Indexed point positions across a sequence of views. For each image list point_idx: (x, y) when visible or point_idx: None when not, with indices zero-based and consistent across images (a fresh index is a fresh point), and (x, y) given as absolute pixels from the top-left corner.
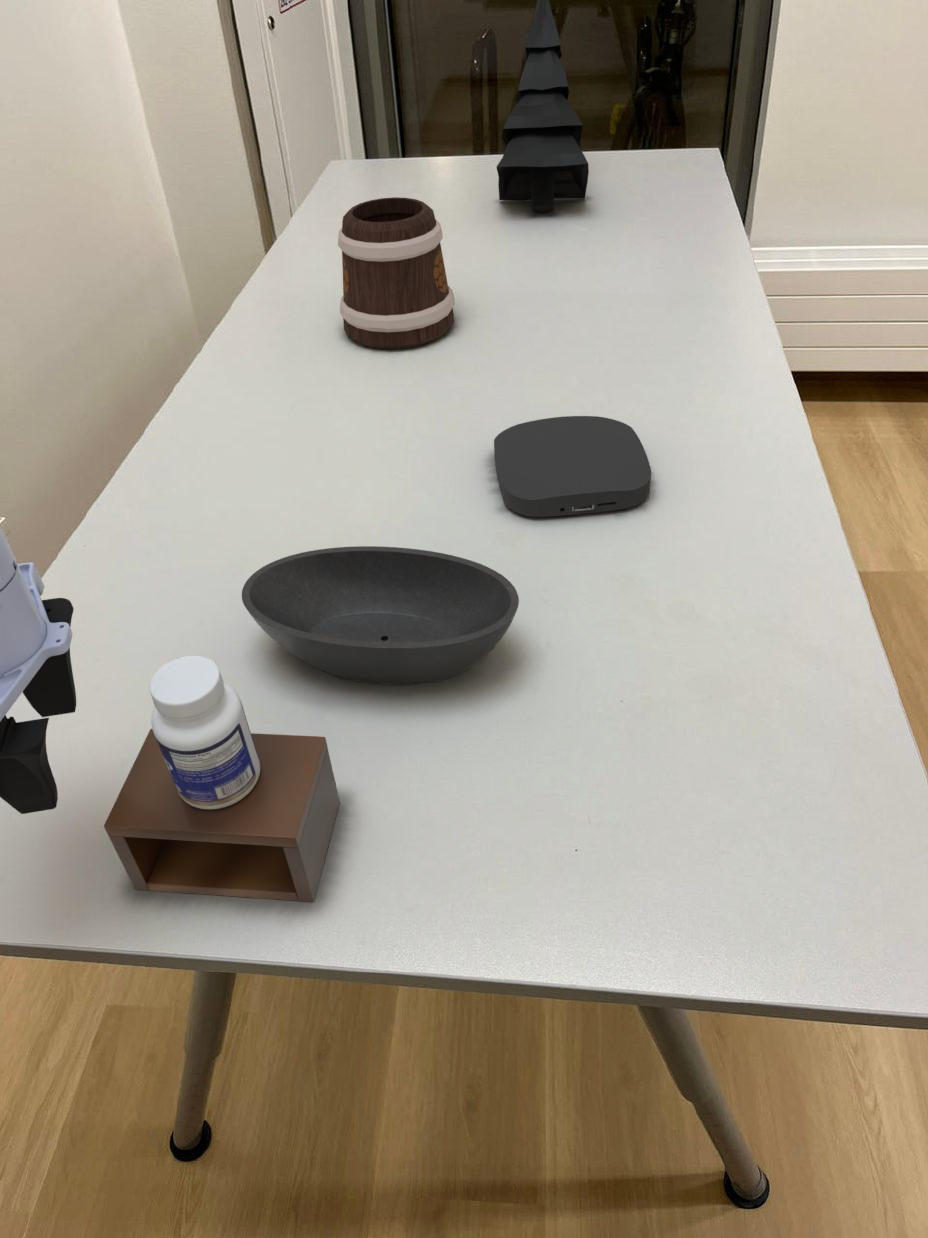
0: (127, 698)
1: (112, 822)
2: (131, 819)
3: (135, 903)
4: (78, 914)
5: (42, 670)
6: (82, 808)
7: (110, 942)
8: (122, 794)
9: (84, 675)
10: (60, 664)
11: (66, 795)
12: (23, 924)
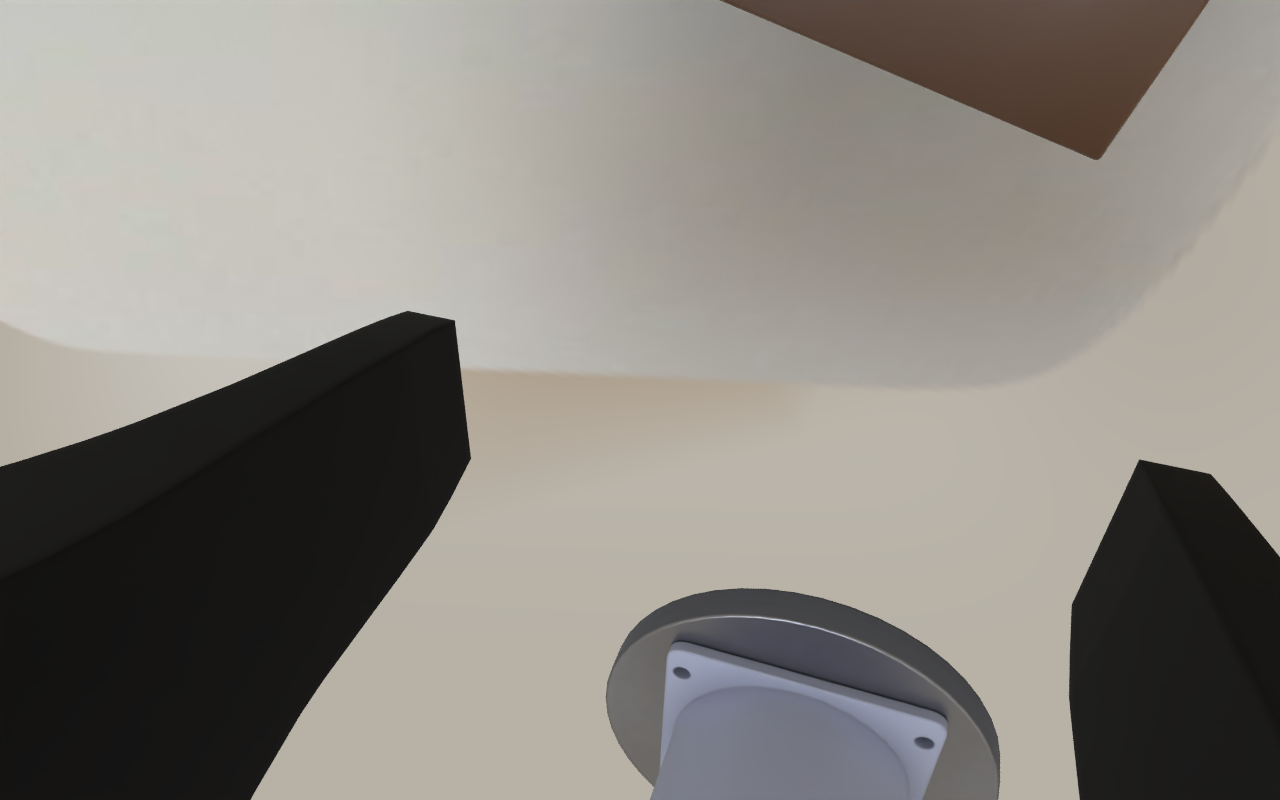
0: (216, 44)
1: (1100, 114)
2: (1137, 6)
3: None
4: (1071, 217)
5: (241, 608)
6: (639, 194)
7: (1265, 116)
8: (915, 58)
9: (144, 176)
10: (181, 528)
11: (578, 237)
12: (1023, 363)
